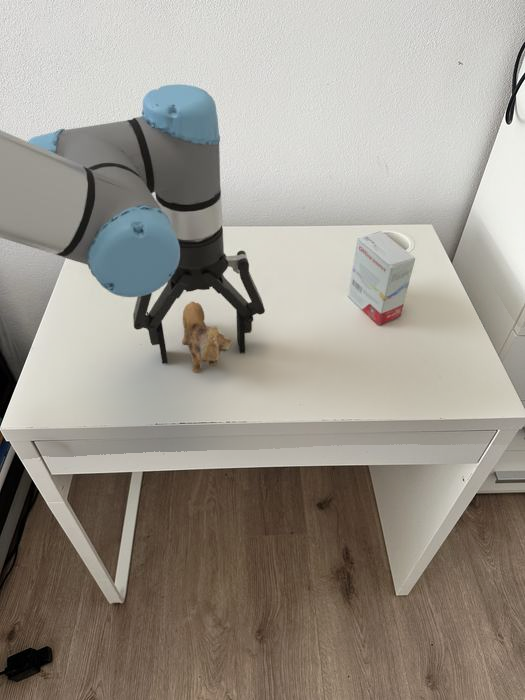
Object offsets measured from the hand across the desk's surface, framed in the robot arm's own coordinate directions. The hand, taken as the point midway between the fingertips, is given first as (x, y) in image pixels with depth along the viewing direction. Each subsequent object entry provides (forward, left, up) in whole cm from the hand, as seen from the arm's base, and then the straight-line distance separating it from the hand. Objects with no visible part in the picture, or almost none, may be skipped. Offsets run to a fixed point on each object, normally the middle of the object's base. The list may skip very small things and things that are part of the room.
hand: (203, 351), depth 81 cm
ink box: (+29, +5, 0) cm, 30 cm away
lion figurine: (0, 0, 0) cm, 0 cm away
